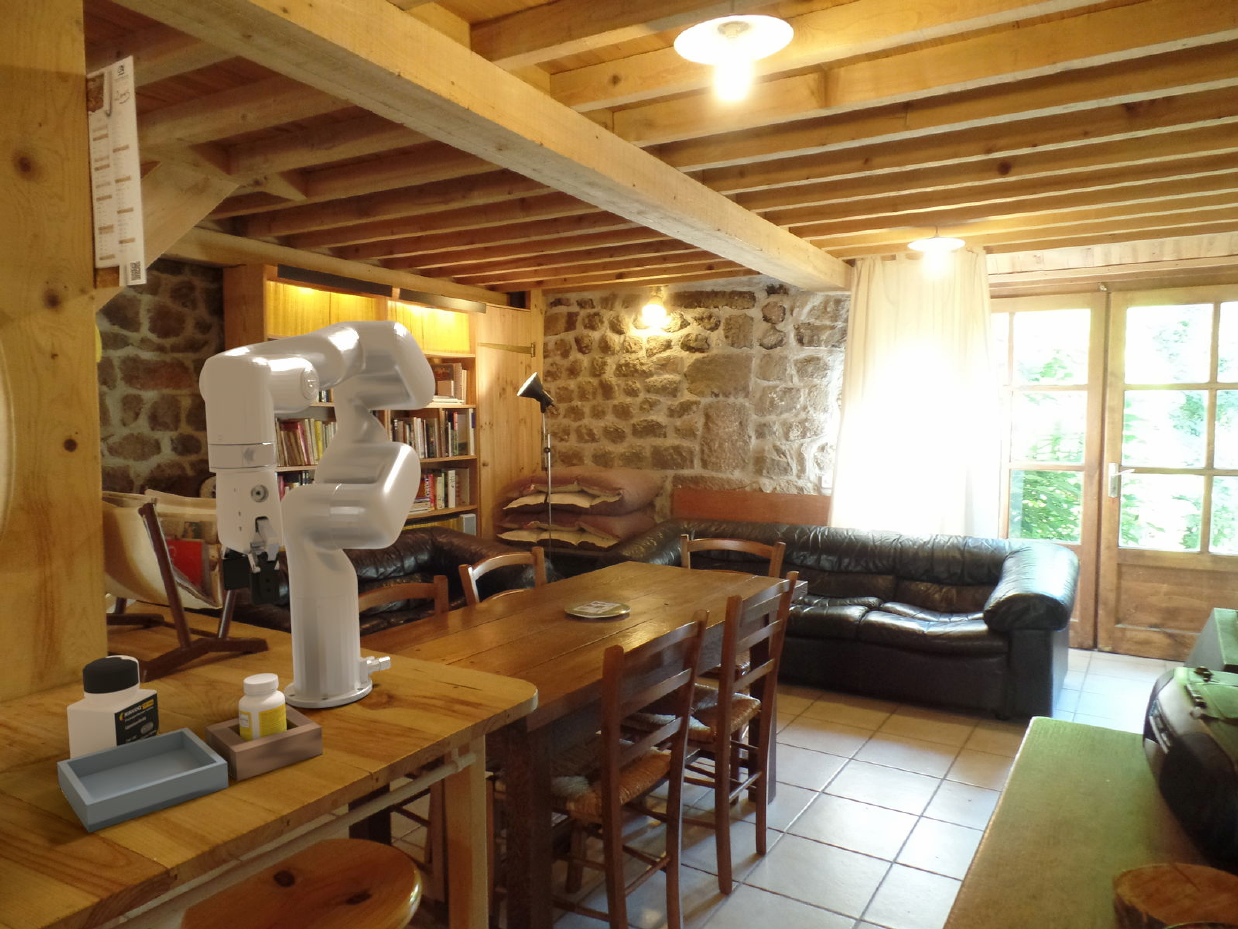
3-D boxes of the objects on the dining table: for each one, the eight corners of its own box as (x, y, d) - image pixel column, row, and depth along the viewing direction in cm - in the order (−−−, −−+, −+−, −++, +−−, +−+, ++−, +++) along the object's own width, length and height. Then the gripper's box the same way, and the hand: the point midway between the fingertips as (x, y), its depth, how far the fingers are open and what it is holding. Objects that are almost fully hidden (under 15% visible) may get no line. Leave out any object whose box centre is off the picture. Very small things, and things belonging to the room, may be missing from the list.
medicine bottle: (119, 767, 103) (112, 671, 102) (69, 762, 105) (62, 667, 103) (161, 742, 110) (155, 652, 109) (114, 738, 111) (108, 649, 110)
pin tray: (188, 750, 108) (186, 727, 107) (228, 787, 98) (227, 762, 97) (58, 787, 98) (57, 762, 98) (88, 833, 88) (86, 805, 88)
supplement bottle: (294, 744, 109) (290, 670, 108) (278, 763, 104) (274, 685, 103) (251, 745, 109) (247, 671, 108) (233, 764, 104) (229, 686, 103)
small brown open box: (288, 729, 114) (287, 704, 113) (322, 753, 106) (321, 726, 106) (206, 753, 106) (205, 726, 106) (237, 781, 99) (235, 752, 99)
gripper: (302, 460, 99) (309, 603, 100) (249, 451, 111) (256, 578, 113) (235, 465, 94) (244, 616, 95) (187, 455, 106) (196, 588, 108)
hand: (251, 595), depth 104 cm, fingers open, 9 cm apart
